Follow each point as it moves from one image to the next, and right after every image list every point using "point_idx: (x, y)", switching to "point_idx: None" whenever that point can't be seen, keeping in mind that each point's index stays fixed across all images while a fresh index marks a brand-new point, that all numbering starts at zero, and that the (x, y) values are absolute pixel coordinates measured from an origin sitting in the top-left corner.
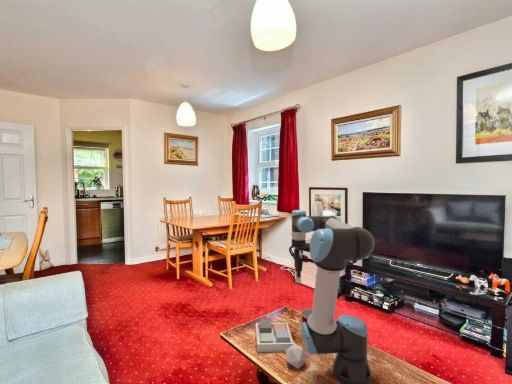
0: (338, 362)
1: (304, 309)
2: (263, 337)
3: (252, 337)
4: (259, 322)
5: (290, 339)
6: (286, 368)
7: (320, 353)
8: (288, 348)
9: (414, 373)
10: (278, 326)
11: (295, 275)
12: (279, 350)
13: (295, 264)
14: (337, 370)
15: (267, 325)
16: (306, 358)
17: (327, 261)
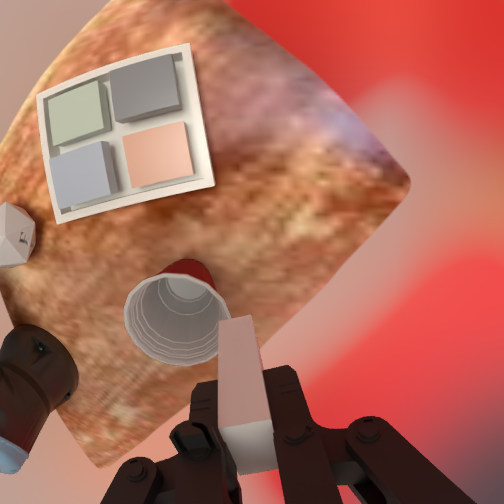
0: (3, 350)
1: (213, 294)
2: (69, 102)
3: (137, 54)
4: (158, 57)
5: (78, 210)
6: None
7: None
8: (3, 213)
9: (102, 459)
10: (162, 147)
11: (257, 360)
12: None
13: (329, 493)
14: (6, 339)
15: (133, 98)
16: (8, 267)
17: None
